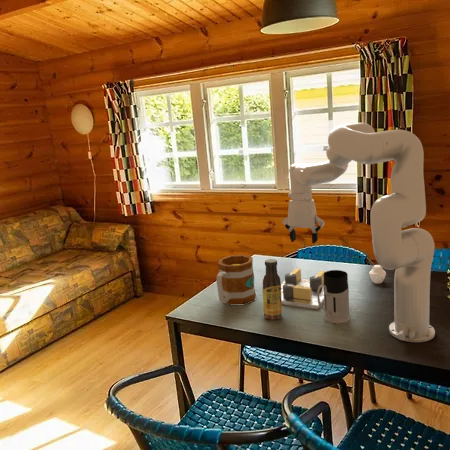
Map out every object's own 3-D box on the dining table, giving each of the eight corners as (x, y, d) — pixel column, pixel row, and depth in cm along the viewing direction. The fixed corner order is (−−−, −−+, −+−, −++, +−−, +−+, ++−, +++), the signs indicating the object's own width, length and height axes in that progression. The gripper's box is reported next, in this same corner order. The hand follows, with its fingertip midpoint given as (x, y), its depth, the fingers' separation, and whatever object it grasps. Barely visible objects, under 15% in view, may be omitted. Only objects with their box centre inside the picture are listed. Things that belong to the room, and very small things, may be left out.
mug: (232, 289, 180) (228, 253, 176) (262, 293, 173) (259, 256, 169) (205, 309, 164) (200, 270, 160) (237, 314, 157) (234, 274, 153)
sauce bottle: (267, 322, 149) (263, 265, 144) (261, 314, 155) (256, 259, 150) (286, 318, 151) (282, 261, 146) (278, 311, 157) (275, 256, 152)
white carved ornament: (387, 284, 170) (387, 267, 169) (370, 285, 171) (370, 267, 170) (384, 278, 176) (384, 261, 175) (368, 279, 177) (367, 262, 176)
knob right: (319, 291, 166) (319, 280, 165) (308, 289, 168) (307, 278, 167) (328, 281, 174) (328, 270, 173) (317, 279, 177) (317, 269, 176)
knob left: (294, 287, 171) (293, 277, 170) (283, 286, 173) (282, 276, 172) (304, 278, 180) (303, 268, 179) (293, 277, 182) (293, 267, 181)
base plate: (317, 309, 155) (317, 299, 154) (264, 301, 165) (264, 292, 164) (337, 286, 173) (336, 277, 172) (288, 280, 183) (288, 272, 182)
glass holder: (356, 315, 148) (354, 272, 144) (331, 332, 139) (329, 286, 135) (333, 309, 154) (331, 267, 151) (307, 324, 145) (305, 280, 141)
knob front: (281, 297, 163) (280, 286, 162) (286, 293, 167) (285, 282, 166) (308, 301, 158) (308, 290, 157) (313, 296, 162) (312, 285, 161)
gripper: (276, 198, 169) (278, 243, 174) (320, 198, 160) (322, 246, 165) (284, 194, 176) (286, 237, 180) (327, 194, 167) (329, 240, 171)
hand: (303, 241), depth 172 cm, fingers open, 7 cm apart
